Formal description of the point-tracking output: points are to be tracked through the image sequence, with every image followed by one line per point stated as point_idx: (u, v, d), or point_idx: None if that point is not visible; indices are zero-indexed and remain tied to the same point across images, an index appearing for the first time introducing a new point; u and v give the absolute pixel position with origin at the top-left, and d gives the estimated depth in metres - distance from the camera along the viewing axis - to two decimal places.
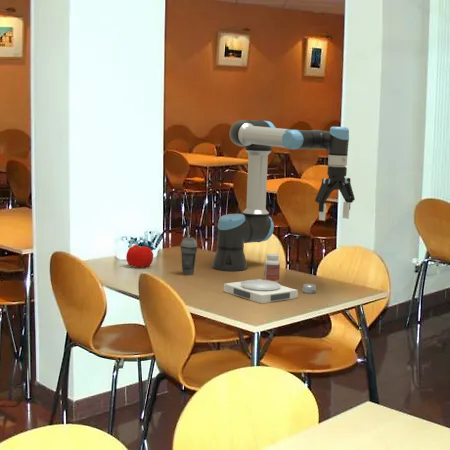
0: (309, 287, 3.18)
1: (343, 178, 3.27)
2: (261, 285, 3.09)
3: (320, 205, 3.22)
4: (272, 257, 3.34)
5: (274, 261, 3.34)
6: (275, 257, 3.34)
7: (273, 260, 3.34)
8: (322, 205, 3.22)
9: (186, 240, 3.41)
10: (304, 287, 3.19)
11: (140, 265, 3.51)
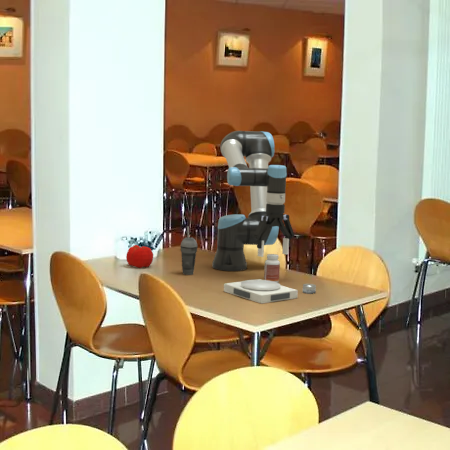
0: (309, 287, 3.18)
1: (281, 215, 3.34)
2: (261, 285, 3.09)
3: (258, 242, 3.30)
4: (272, 257, 3.34)
5: (274, 261, 3.34)
6: (275, 257, 3.34)
7: (273, 260, 3.34)
8: (260, 242, 3.29)
9: (186, 240, 3.41)
10: (305, 287, 3.19)
11: (140, 265, 3.51)
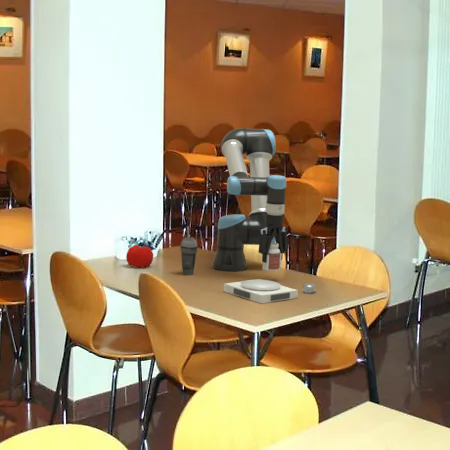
0: (309, 287, 3.18)
1: (281, 225, 3.36)
2: (261, 285, 3.09)
3: (263, 256, 3.33)
4: (272, 246, 3.34)
5: (274, 250, 3.34)
6: (275, 246, 3.34)
7: (273, 249, 3.34)
8: (265, 256, 3.33)
9: (186, 240, 3.41)
10: (305, 287, 3.19)
11: (140, 265, 3.51)
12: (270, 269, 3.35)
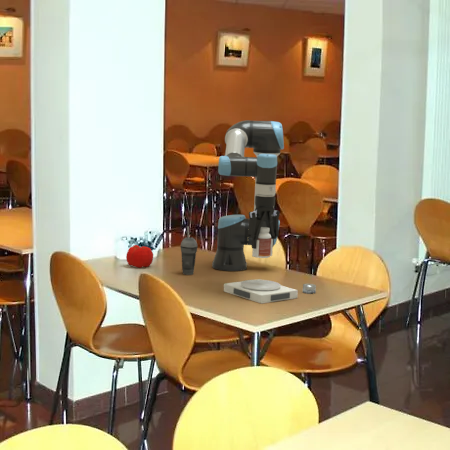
0: (309, 287, 3.18)
1: (272, 208, 3.09)
2: (261, 285, 3.09)
3: (253, 241, 3.07)
4: (263, 230, 3.07)
5: (265, 234, 3.07)
6: (266, 230, 3.07)
7: (264, 233, 3.07)
8: (255, 241, 3.07)
9: (186, 240, 3.41)
10: (305, 287, 3.19)
11: (140, 265, 3.51)
12: (260, 255, 3.08)
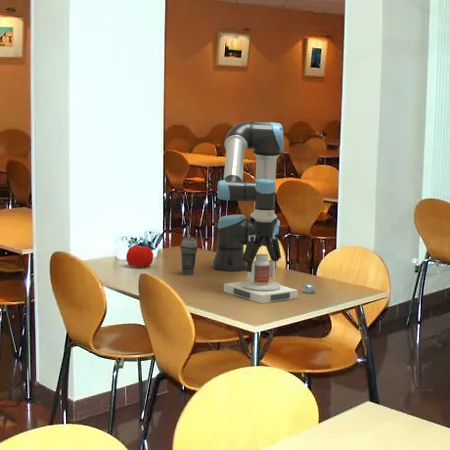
0: (309, 287, 3.18)
1: (271, 233, 3.10)
2: (261, 285, 3.09)
3: (248, 265, 3.07)
4: (261, 257, 3.09)
5: (263, 262, 3.09)
6: (264, 257, 3.09)
7: (262, 261, 3.09)
8: (250, 265, 3.07)
9: (186, 240, 3.41)
10: (305, 287, 3.19)
11: (140, 265, 3.51)
12: (259, 283, 3.09)
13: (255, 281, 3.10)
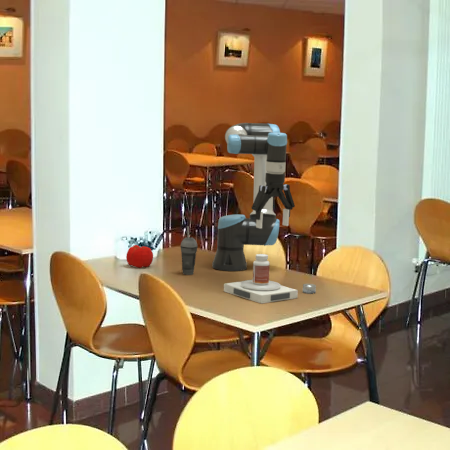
0: (309, 287, 3.18)
1: (282, 185, 3.20)
2: (261, 285, 3.09)
3: (257, 213, 3.16)
4: (261, 257, 3.09)
5: (263, 262, 3.09)
6: (264, 257, 3.09)
7: (262, 261, 3.09)
8: (259, 213, 3.16)
9: (186, 240, 3.41)
10: (305, 287, 3.19)
11: (140, 265, 3.51)
12: (259, 283, 3.09)
13: (255, 281, 3.10)
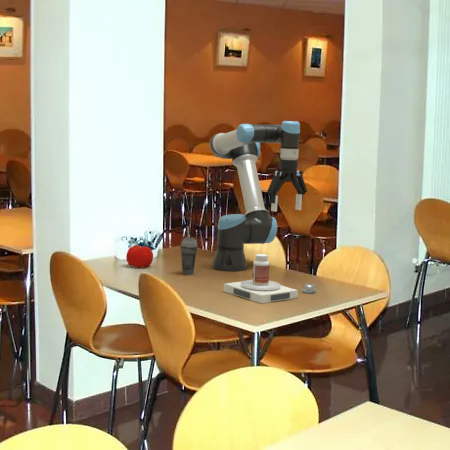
0: (309, 287, 3.18)
1: (295, 171, 3.38)
2: (261, 285, 3.09)
3: (272, 197, 3.34)
4: (261, 257, 3.09)
5: (263, 262, 3.09)
6: (264, 257, 3.09)
7: (262, 261, 3.09)
8: (274, 197, 3.34)
9: (186, 240, 3.41)
10: (305, 287, 3.19)
11: (140, 265, 3.51)
12: (259, 283, 3.09)
13: (255, 281, 3.10)
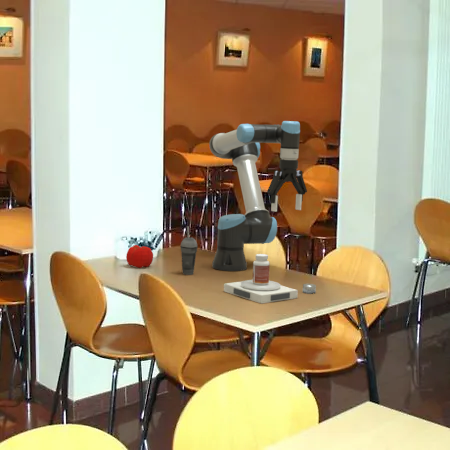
0: (309, 287, 3.18)
1: (295, 171, 3.39)
2: (261, 285, 3.09)
3: (272, 197, 3.34)
4: (261, 257, 3.09)
5: (263, 262, 3.09)
6: (264, 257, 3.09)
7: (262, 261, 3.09)
8: (274, 197, 3.34)
9: (186, 240, 3.41)
10: (305, 287, 3.19)
11: (140, 265, 3.51)
12: (259, 283, 3.09)
13: (255, 281, 3.10)
